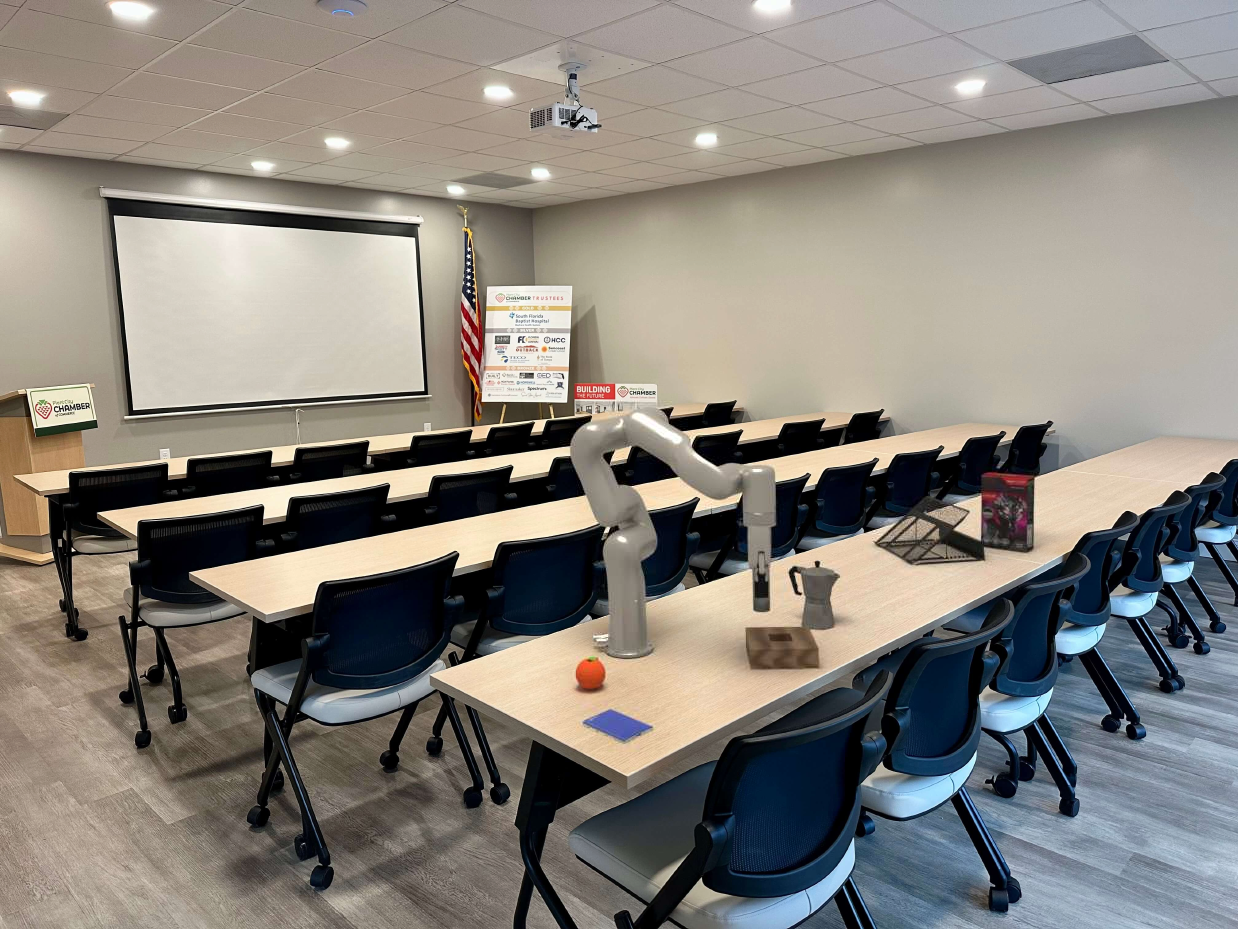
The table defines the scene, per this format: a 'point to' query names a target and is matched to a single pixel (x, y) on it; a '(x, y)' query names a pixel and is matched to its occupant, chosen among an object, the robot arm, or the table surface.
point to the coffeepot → (815, 595)
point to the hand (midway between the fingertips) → (761, 594)
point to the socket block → (781, 648)
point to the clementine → (590, 673)
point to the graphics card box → (1007, 511)
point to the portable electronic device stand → (945, 535)
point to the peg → (761, 603)
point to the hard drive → (617, 725)
